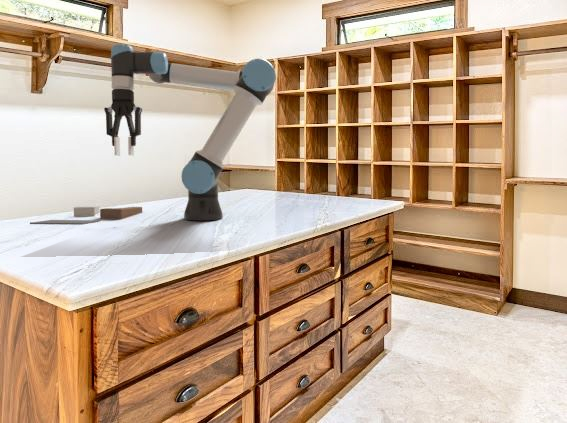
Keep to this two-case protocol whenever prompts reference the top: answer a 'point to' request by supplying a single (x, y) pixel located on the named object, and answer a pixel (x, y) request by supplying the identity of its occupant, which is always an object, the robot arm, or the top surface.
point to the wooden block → (119, 212)
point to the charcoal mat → (65, 222)
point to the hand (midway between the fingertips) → (124, 155)
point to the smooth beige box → (86, 211)
